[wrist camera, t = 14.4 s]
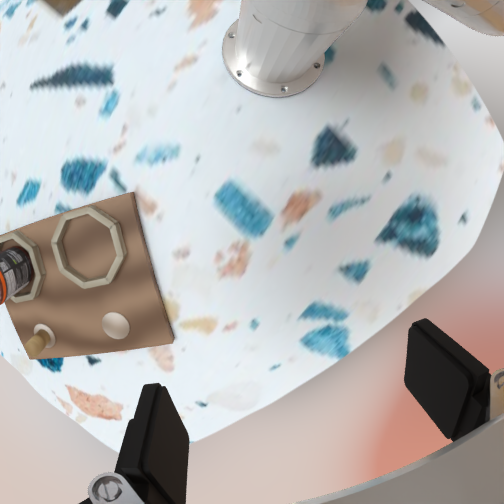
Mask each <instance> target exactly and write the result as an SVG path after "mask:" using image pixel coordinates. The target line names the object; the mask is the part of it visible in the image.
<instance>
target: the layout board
mask: <svg viewBox="0 0 504 504" xmlns="http://www.w3.org/2000/svg"><path fill="white" fill-rule="evenodd" d="M13 246H18V247H21V248H23V249H24V250H25V251H26V252H27V253H28V254H29V256H30V258H31V261H32V265H33V269H34V272H33V278H32V280H31V282H30V283H29V284H28V285H27V286H26V287H24V288H23V289H22V290H20V291H19V292H17V293H16V294H15V295H13V296H12V297H11V298H9V299H8V300H7V301H5V305H6V307H7V310H8V312H9V315H10V317H11V320H12V322H13V324H14V327H15V329H16V331H17V333H18V336H19V338H20V340H21V342H22V344H23V346H24V348H25V350H26V353H27V355H28V357H29V359H30V360H31V359H46V358H59V357H70V356H81V355H90V354H100V353H108V352H116V351H124V350H132V349H139V348H146V347H153V346H159V345H166V344H172V343H173V341H174V336H173V333H172V330H171V327H170V324H169V321H168V318H167V315H166V311H165V308H164V305H163V302H162V299H161V296H160V292H159V289H158V286H157V282H156V279H155V275H154V272H153V268H152V265H151V261H150V258H149V254H148V250H147V247H146V243H145V239H144V235H143V231H142V227H141V223H140V219H139V215H138V211H137V206H136V202H135V197H134V193H133V192H131V193H127V194H123V195H120V196H116V197H113V198H109V199H106V200H103V201H99V202H96V203H93V204H89V205H86V206H83V207H80V208H76V209H73V210H70V211H67V212H64V213H61V214H58V215H55V216H52V217H49V218H46V219H43V220H40V221H38V222H35V223H32V224H29V225H27V226H24V227H21V228H18V229H16V230H13V231H10V232H8V233H5V234H3V235H0V252H1V251H3V250H5V249H7V248H10V247H13Z"/></svg>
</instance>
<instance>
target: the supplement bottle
mask: <svg viewBox="0 0 504 504" xmlns="http://www.w3.org/2000/svg"><path fill="white" fill-rule="evenodd" d="M33 272H34V269H33V265H32V261H31V258H30V256H29V254H28V253H27V252H26V251H25V250H24V249H23V248H21V247H18V246H13V247H10V248H7V249H5V250H3V251H1V252H0V305H1V304H2V303H4V302H5V301H7V300H8V299H9V298H11V297H12V296H13V295H15V294H16V293H17V292H19V291H20V290H22V289H23V288H24V287H26V286H27V285H28V284H29V283H30V282H31V280H32V278H33Z"/></svg>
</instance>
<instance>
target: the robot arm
mask: <svg viewBox="0 0 504 504" xmlns="http://www.w3.org/2000/svg"><path fill="white" fill-rule="evenodd" d="M367 1H368V0H242V1H241V8H240V15H239V19H237V20H236V21H235V22H234V23H233V24H232V25H231V26H230V28H229V29H228V31H227V32H226V34H225V37H224V39H223V46H222V55H223V60H224V64H225V66H226V68H227V70H228V72H229V73H230V75H231V76H232V77H233V78H234V79H235V80H236V81H237V82H238V83H239V84H240V85H241V86H243V87H245V88H246V89H248V90H250V91H252V92H254V93H256V94H260V95H264V96H269V97H286V96H290V95H294V94H297V93H299V92H301V91H304V90H305V89H306V88H308V87H309V86H311V85H312V84H313V83H314V82H315V81H316V79H317V78H318V77H319V75H320V74H321V71H322V69H323V66H324V60H325V55H324V52H325V51H326V50H327V49H328V48H329V47H330V46H331V45H332V44H333V42H334V41H335V40H336V39H337V38H338V37H339V36H340V35H341V34H342V33H343V32H344V31H345V30H346V29H347V28H348V27H349V26H350V25H351V24H352V23H353V22H354V21H355V20H356V19H357V18H358V16H359V15H360V14H361V13H362V11H363V10H364V8H365V6H366V4H367ZM423 1H425V2H427V3H428V4H430V5H432V6H434V7H435V8H437V9H439V10H440V11H442V12H444V13H446V14H448V15H449V16H451V17H452V18H454V19H456V20H457V21H459V22H461V23H462V24H464V25H466V26H468V27H469V28H471V29H473V30H475V31H478V32H480V33H484V34H486V35H491V36H504V0H423ZM230 37H233V38H230ZM314 66H316V67H317V69H316V68H315V67H314ZM238 74H241V75H242V76H241V77H238ZM281 89H284V90H285V92H282V91H281ZM406 358H407V359H406V368H405V376H404V382H405V385H406V387H407V388H408V390H409V391H410V392H411V394H412V395H413V396H414V397H415V399H416V400H417V401H418V402H419V404H420V405H421V406H422V407H423V409H424V410H425V411H426V412H427V414H428V415H429V416H430V418H431V419H432V420H433V421H434V423H435V424H436V425H437V427H438V428H439V429H440V431H441V432H442V433H443V434H444V436H445V437H446V438H447V439H450V438H451V440H452V441H453V442H452V443H451V444H449V445H447V446H445V447H443V448H441V449H440V450H438V451H436V452H434V453H432V454H430V455H428V456H426V457H424V458H422V459H420V460H418V461H416V462H413V463H411V464H409V465H407V466H405V467H402V468H400V469H398V470H395V471H393V472H390V473H388V474H386V475H383V476H381V477H378V478H375V479H373V480H370V481H367V482H365V483H362V484H359V485H356V486H353V487H350V488H347V489H344V490H341V491H338V492H334V493H331V494H327V495H324V496H320V497H316V498H312V499H308V500H304V501H300V502H296V503H291V504H504V368H503V369H499V370H497V371H495V372H494V373H493V374H492V375H491V374H490V373H489V369H488V368H487V367H486V366H484V365H483V364H482V363H481V362H480V361H478V360H477V359H476V358H475V357H474V356H472V355H471V354H470V353H469V352H468V351H466V350H465V349H464V348H463V347H462V346H460V345H459V344H458V343H457V342H455V341H454V340H453V339H452V338H451V337H449V336H448V335H447V334H446V333H444V332H443V331H442V330H441V329H439V328H438V327H437V326H436V325H434V324H433V323H432V322H431V321H429V320H428V319H426V318H424V319H422V320H419V321H416V322H414V323H412V326H411V327H410V329H409V332H408V346H407V357H406ZM188 453H189V435H188V432H187V430H186V428H185V426H184V424H183V422H182V420H181V418H180V416H179V414H178V412H177V410H176V408H175V406H174V404H173V401H172V399H171V397H170V395H169V393H168V390H167V388H166V387H165V386H161V385H160V383H154V384H145V385H144V386H143V389H142V392H141V395H140V398H139V402H138V405H137V408H136V412H135V415H134V419H131V420H130V421H129V423H128V425H127V429H126V432H125V436H124V439H123V443H122V446H121V450H120V453H119V457H118V461H117V464H116V468H115V471H114V473H111V472H108V473H103V474H100V475H98V476H97V477H95V478H94V479H93V480H92V482H91V483H90V485H89V487H88V495H89V498H87V499H86V500H84V501H82V502H81V503H79V504H186V485H187V467H188Z"/></svg>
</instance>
